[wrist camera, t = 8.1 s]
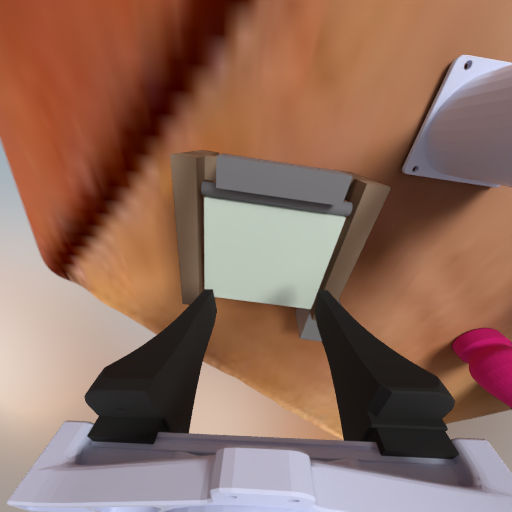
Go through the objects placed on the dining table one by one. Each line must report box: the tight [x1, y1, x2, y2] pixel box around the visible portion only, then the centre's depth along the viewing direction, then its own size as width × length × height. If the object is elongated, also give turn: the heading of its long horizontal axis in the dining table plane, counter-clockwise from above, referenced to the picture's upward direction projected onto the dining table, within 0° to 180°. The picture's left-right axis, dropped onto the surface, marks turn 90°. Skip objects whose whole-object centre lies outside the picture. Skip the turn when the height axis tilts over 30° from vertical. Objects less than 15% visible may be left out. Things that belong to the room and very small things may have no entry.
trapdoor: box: [201, 154, 353, 309], centre depth 15 cm, size 10×12×2 cm
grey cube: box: [295, 300, 342, 341], centre depth 25 cm, size 4×4×4 cm
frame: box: [170, 150, 391, 321], centre depth 19 cm, size 14×13×7 cm
